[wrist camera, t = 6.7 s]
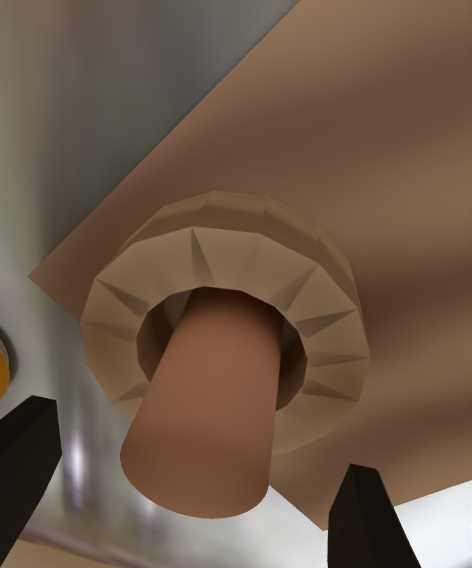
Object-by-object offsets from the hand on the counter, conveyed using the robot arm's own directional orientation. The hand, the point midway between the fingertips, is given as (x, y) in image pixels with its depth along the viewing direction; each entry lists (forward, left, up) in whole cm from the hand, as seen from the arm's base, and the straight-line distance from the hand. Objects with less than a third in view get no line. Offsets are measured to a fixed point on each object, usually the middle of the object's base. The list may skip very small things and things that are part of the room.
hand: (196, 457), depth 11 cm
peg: (0, 0, -7) cm, 7 cm away
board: (-3, -3, -8) cm, 9 cm away
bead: (0, 0, -7) cm, 7 cm away
